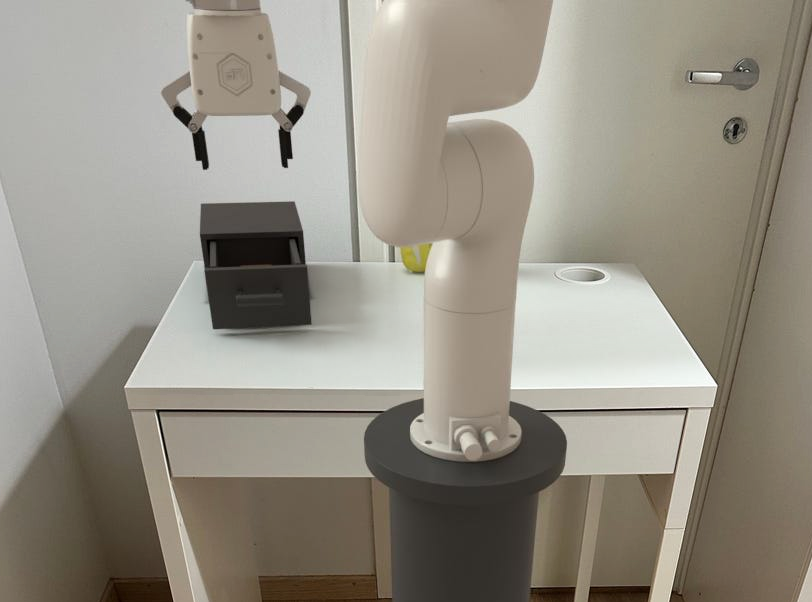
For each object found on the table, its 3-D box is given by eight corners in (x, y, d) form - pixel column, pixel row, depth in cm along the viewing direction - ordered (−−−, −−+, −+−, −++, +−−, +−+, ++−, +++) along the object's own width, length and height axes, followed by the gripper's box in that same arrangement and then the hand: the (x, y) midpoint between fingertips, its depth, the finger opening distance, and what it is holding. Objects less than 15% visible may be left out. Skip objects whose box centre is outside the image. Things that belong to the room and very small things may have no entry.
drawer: (314, 335, 123) (309, 276, 118) (213, 340, 121) (204, 280, 116) (302, 287, 139) (298, 233, 134) (212, 291, 136) (204, 236, 132)
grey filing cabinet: (308, 298, 138) (303, 230, 132) (209, 302, 135) (199, 234, 129) (299, 263, 151) (294, 201, 145) (209, 266, 149) (200, 203, 143)
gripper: (143, 0, 98) (172, 174, 109) (305, 1, 101) (318, 171, 112) (148, -5, 104) (175, 162, 114) (301, -3, 107) (313, 159, 117)
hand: (245, 166), depth 113 cm, fingers open, 9 cm apart
